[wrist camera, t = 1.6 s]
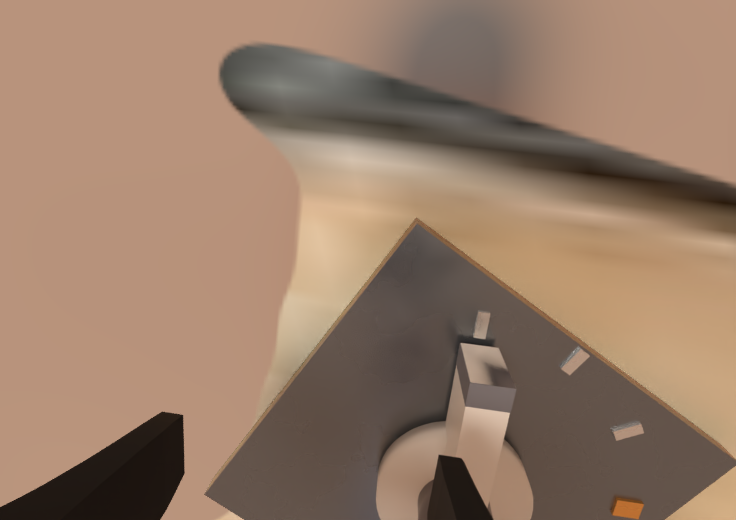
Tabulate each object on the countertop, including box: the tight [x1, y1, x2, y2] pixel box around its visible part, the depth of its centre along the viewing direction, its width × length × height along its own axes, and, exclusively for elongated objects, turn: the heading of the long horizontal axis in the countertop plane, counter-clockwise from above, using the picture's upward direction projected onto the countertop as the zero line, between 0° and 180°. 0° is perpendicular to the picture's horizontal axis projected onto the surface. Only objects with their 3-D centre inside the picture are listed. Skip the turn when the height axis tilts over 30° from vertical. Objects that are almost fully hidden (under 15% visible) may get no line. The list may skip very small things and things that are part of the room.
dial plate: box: [204, 218, 736, 520], centre depth 21 cm, size 18×18×1 cm
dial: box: [376, 343, 533, 520], centre depth 18 cm, size 11×7×3 cm, turn 174°
